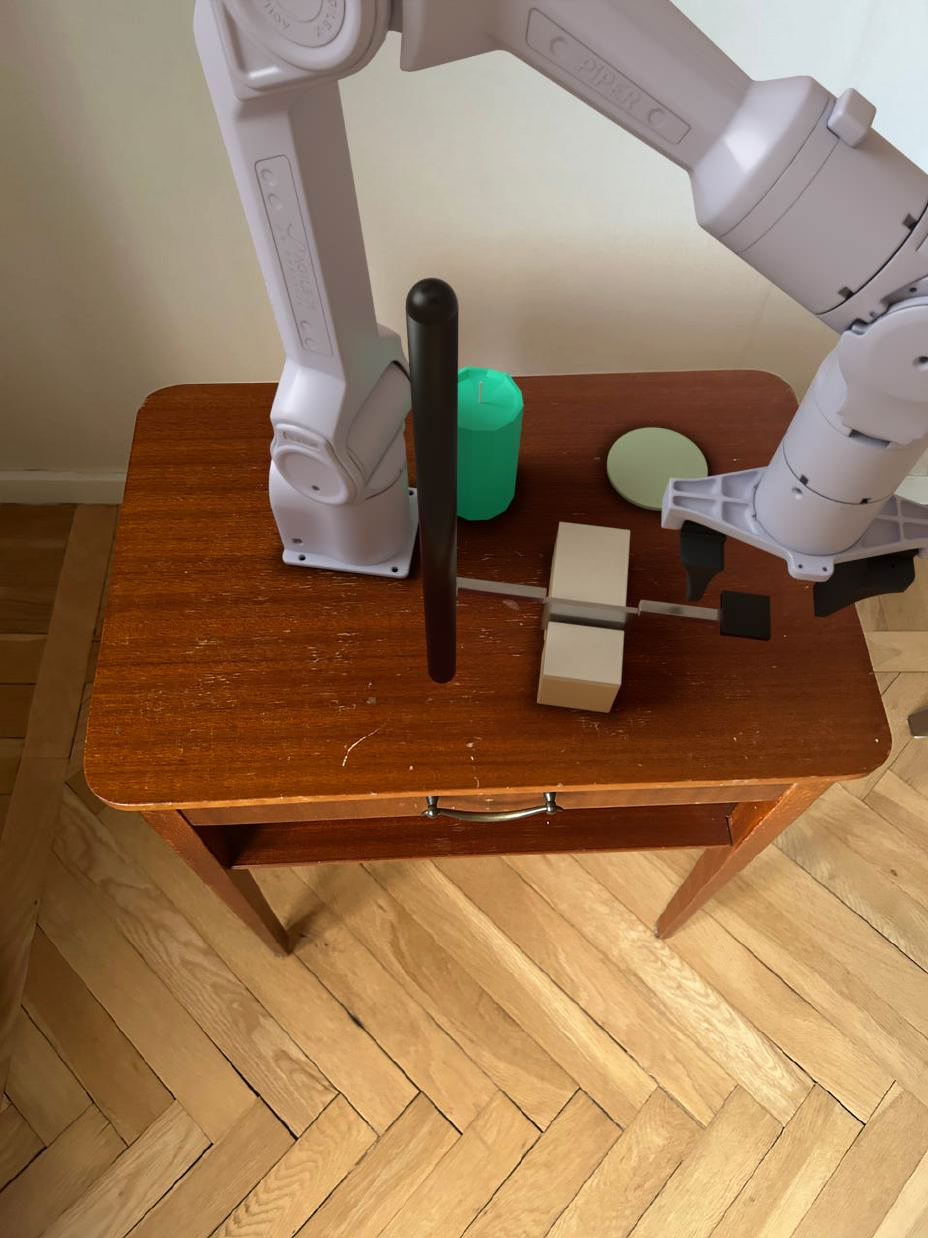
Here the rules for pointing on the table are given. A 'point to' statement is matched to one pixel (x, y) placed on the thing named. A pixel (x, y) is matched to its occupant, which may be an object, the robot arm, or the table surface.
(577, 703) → the beige block
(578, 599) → the tall beige cuboid
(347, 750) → the table surface
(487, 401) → the candle
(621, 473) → the plate
